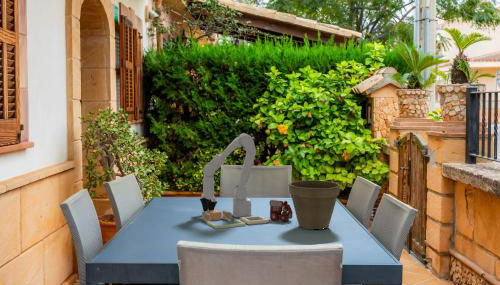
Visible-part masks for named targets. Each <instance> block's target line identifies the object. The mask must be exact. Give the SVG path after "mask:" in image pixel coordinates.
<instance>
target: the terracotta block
mask: <svg viewBox="0 0 500 285" xmlns="http://www.w3.org/2000/svg"><path fill="white" fill-rule="evenodd" d="M222 212H223V211H222V210H221V211H220V210H219V209H214V210H208V211H206V213H208V214H210V215H211V221H218V220H219V221H220V220H222V219H223V218H222Z"/></svg>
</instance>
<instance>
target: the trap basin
mask: <svg viewBox="0 0 500 285" xmlns="http://www.w3.org/2000/svg"><path fill="white" fill-rule="evenodd" d="M239 221H241V222H244V223H246V225H249V226H252V225H262V224H264V223H265V224H269V219H267V218H266V217H263V216H260V215H253V216H245V217H239Z"/></svg>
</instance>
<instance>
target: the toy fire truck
mask: <svg viewBox="0 0 500 285" xmlns="http://www.w3.org/2000/svg"><path fill="white" fill-rule="evenodd" d="M288 203H289V202H288V201H287V200H285V201H283V200H276V199H270V200H269V206H270V207H269V208H270V209H269V219H270V220H271V221H272V220H273V221H272V222H275V221H277V220H279V221H280V222H282V221H284V222H283V223H285V222H287V221H288V220H291V219H293V213H294V212H293V209H292V207H291V205H290V204H288ZM287 219H288V220H287Z"/></svg>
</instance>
